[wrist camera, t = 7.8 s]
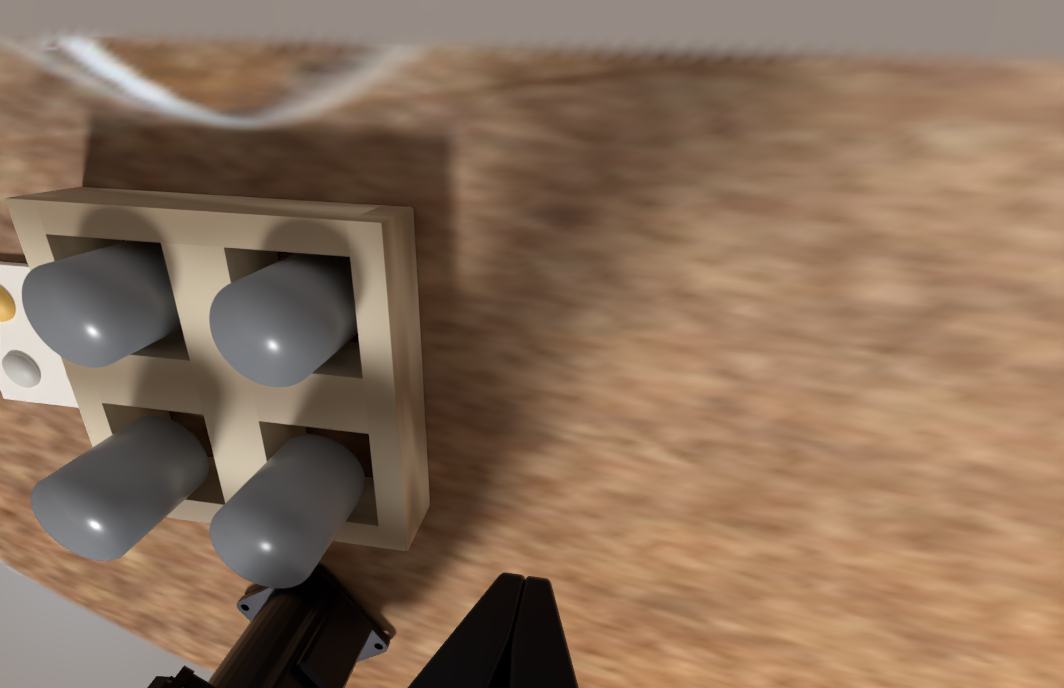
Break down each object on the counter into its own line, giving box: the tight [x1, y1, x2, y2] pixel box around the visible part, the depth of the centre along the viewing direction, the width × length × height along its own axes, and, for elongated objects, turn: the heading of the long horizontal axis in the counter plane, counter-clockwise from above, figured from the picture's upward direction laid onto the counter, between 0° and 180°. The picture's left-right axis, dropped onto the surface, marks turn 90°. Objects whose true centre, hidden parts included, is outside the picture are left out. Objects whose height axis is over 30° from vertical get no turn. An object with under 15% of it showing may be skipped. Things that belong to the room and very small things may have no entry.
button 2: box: [22, 240, 182, 368], centre depth 20 cm, size 4×4×4 cm
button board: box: [5, 187, 430, 552], centre depth 23 cm, size 14×14×3 cm
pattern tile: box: [0, 262, 79, 408], centre depth 25 cm, size 7×7×1 cm
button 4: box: [31, 416, 209, 561], centre depth 21 cm, size 4×4×4 cm
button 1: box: [209, 253, 358, 387], centre depth 20 cm, size 4×4×4 cm
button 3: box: [210, 434, 366, 588], centre depth 20 cm, size 4×4×4 cm
